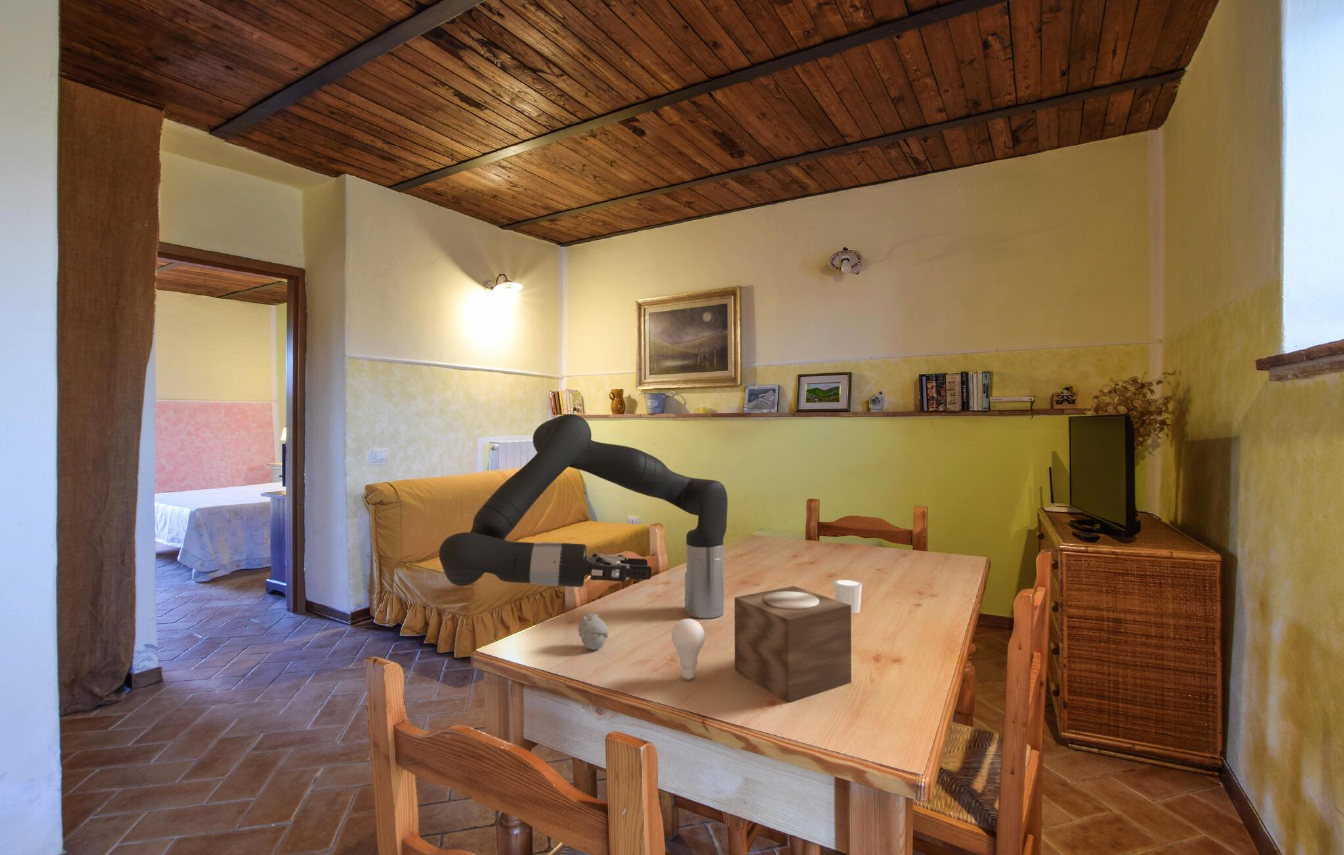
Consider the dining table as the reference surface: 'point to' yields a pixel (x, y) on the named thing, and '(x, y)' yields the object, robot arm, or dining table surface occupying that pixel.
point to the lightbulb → (688, 645)
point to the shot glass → (849, 593)
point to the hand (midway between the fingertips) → (649, 568)
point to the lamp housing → (793, 641)
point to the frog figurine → (592, 631)
